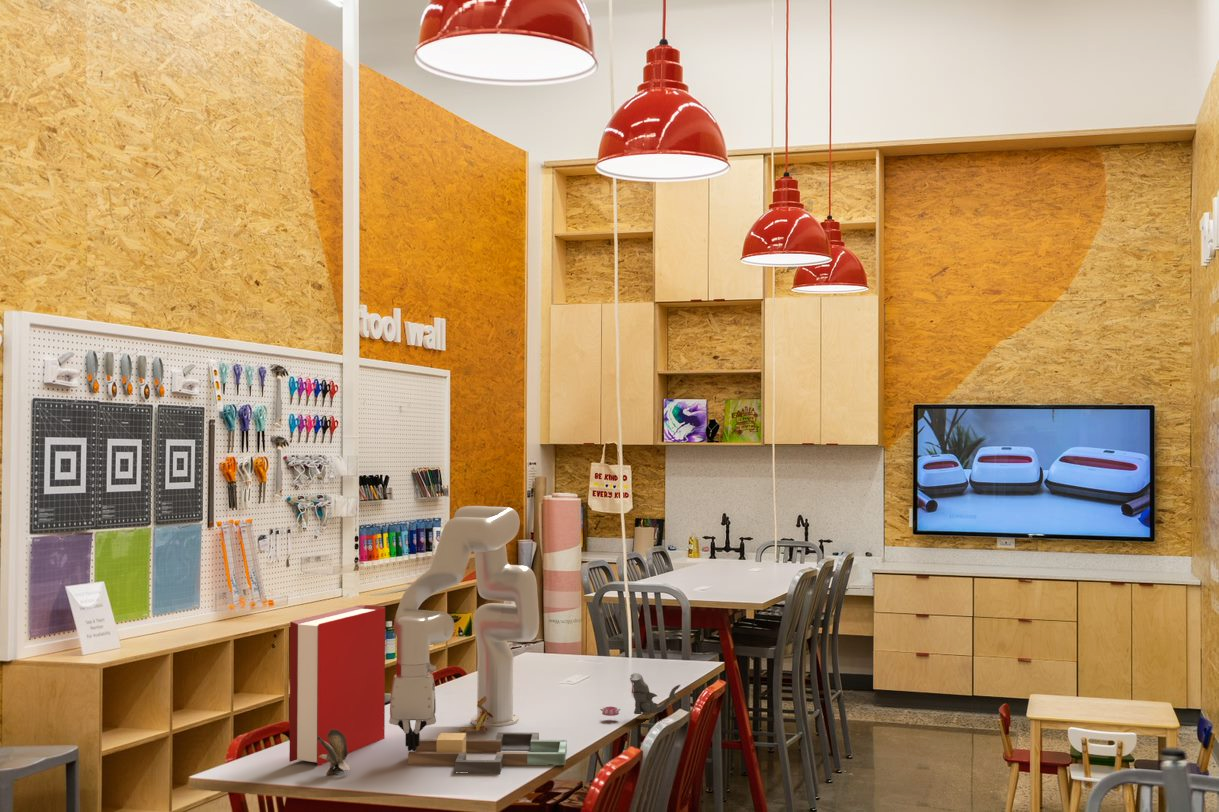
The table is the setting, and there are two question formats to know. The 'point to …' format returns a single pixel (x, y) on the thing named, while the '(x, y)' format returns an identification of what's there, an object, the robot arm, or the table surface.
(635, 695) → the grey and pink pieces
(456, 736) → the ochre block
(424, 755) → the trap channel
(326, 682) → the book
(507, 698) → the robot arm
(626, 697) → the table surface
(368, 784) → the table surface
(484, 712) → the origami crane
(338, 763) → the eagle figurine
